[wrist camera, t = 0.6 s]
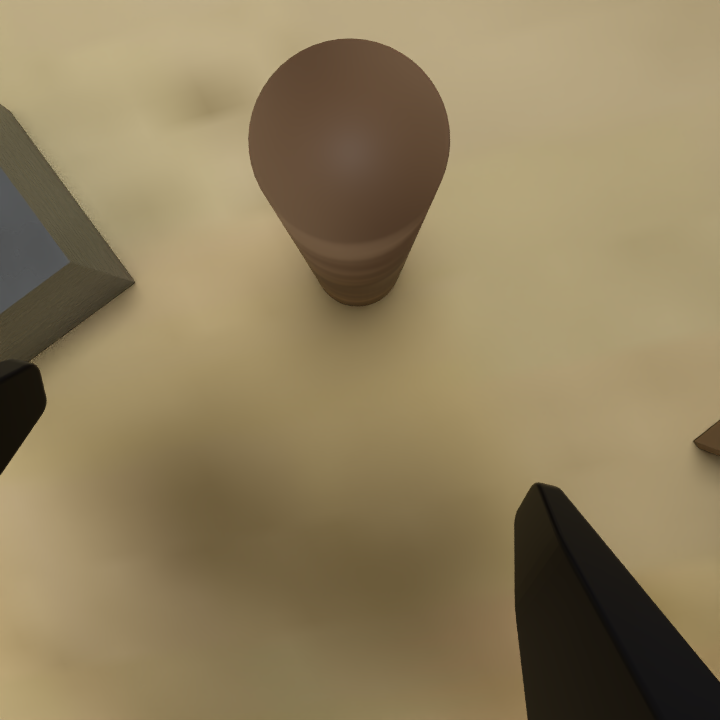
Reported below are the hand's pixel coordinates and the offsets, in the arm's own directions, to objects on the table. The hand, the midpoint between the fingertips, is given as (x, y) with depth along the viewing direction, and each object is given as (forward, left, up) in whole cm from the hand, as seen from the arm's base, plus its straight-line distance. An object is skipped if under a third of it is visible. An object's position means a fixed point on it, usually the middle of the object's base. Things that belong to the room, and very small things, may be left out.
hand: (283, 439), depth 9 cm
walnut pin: (+4, +4, -14) cm, 15 cm away
